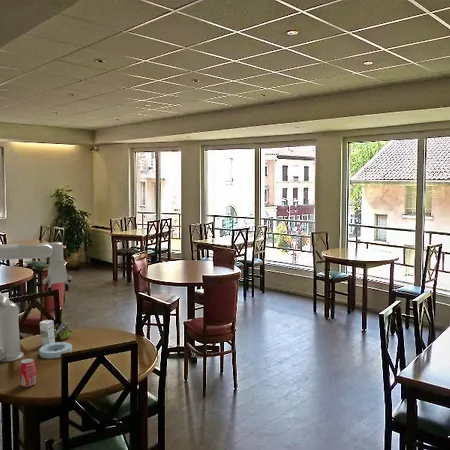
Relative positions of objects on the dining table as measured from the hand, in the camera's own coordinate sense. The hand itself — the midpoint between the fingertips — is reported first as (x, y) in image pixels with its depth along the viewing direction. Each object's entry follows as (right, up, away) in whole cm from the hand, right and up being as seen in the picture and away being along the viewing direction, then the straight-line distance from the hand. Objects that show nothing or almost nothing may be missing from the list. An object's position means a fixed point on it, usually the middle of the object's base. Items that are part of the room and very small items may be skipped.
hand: (58, 292), depth 279 cm
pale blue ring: (+2, -33, -9) cm, 34 cm away
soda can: (+3, -38, -50) cm, 62 cm away
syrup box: (-8, -32, +5) cm, 33 cm away
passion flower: (-3, -31, +18) cm, 36 cm away
